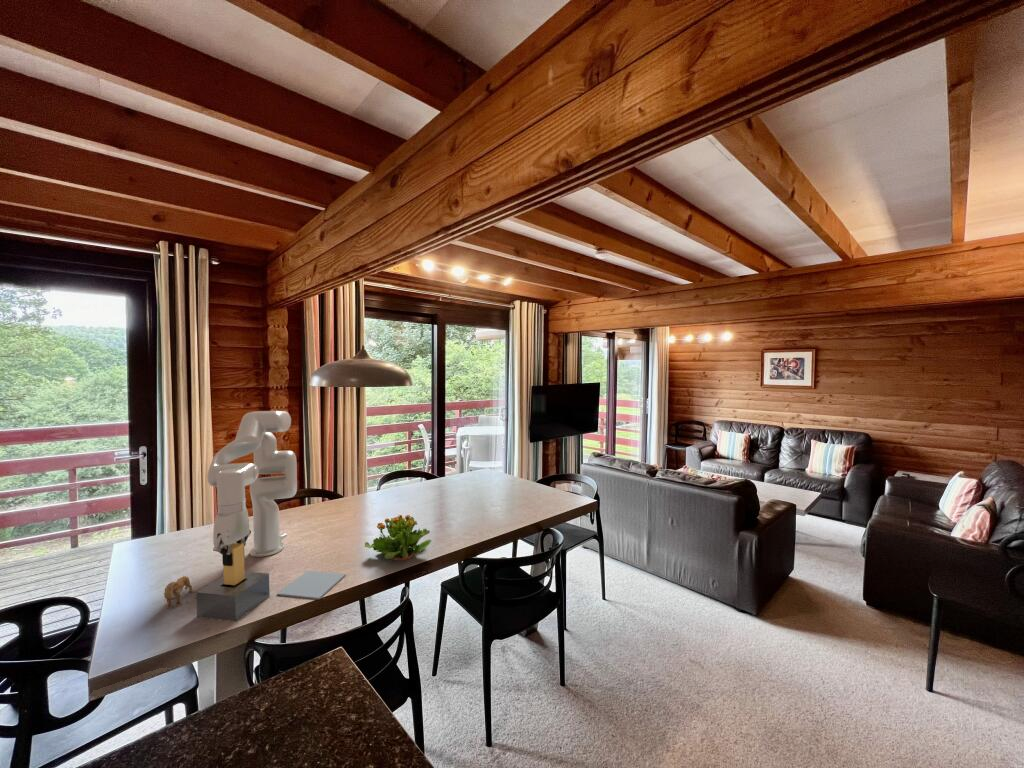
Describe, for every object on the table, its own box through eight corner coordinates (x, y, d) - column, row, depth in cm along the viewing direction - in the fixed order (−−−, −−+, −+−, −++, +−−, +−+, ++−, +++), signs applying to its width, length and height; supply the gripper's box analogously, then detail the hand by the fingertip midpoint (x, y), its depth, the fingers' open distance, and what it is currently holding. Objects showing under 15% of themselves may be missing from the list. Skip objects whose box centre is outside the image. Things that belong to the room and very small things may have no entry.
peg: (234, 577, 137) (232, 542, 137) (244, 578, 137) (243, 543, 136) (224, 584, 133) (222, 548, 133) (234, 585, 133) (233, 549, 132)
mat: (307, 572, 157) (307, 570, 157) (345, 575, 155) (345, 574, 155) (276, 595, 141) (276, 593, 141) (319, 599, 139) (319, 597, 139)
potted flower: (411, 538, 188) (411, 500, 187) (446, 553, 173) (445, 512, 172) (361, 558, 169) (360, 516, 168) (395, 576, 154) (394, 531, 153)
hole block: (233, 592, 143) (233, 570, 143) (269, 596, 141) (269, 573, 140) (197, 617, 129) (196, 592, 129) (236, 621, 127) (235, 596, 127)
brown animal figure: (182, 610, 133) (181, 583, 132) (161, 614, 130) (160, 587, 130) (194, 588, 146) (193, 563, 146) (176, 591, 144) (175, 566, 143)
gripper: (242, 498, 142) (244, 549, 144) (198, 516, 126) (200, 573, 127) (261, 499, 141) (263, 551, 142) (219, 517, 125) (221, 576, 126)
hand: (233, 561), depth 135 cm, fingers closed on peg, 4 cm apart
